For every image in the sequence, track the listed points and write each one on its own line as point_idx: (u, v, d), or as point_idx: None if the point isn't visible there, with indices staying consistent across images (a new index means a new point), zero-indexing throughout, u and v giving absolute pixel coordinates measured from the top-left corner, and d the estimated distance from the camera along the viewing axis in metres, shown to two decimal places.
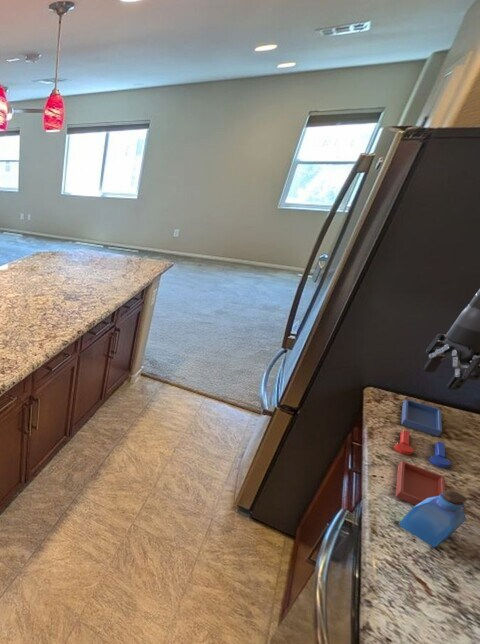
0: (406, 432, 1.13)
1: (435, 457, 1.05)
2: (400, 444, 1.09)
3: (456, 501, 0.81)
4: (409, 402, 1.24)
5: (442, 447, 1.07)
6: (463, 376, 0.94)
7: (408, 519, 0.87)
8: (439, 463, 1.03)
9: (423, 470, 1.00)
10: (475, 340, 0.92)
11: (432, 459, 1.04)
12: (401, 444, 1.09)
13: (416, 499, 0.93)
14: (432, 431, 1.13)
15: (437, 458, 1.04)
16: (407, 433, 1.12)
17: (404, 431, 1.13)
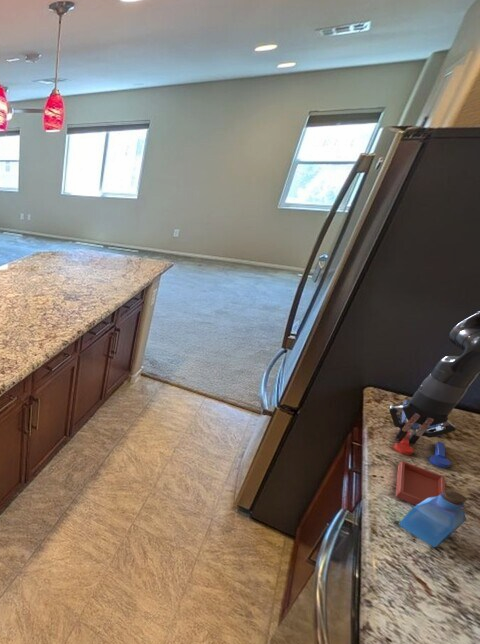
0: None
1: (435, 457, 1.05)
2: (400, 444, 1.09)
3: (456, 501, 0.81)
4: None
5: (442, 447, 1.07)
6: (428, 435, 1.06)
7: (408, 519, 0.87)
8: (439, 463, 1.03)
9: (423, 470, 1.00)
10: (452, 409, 1.01)
11: (432, 459, 1.04)
12: (401, 444, 1.09)
13: (416, 499, 0.93)
14: None
15: (437, 458, 1.04)
16: (407, 433, 1.12)
17: None
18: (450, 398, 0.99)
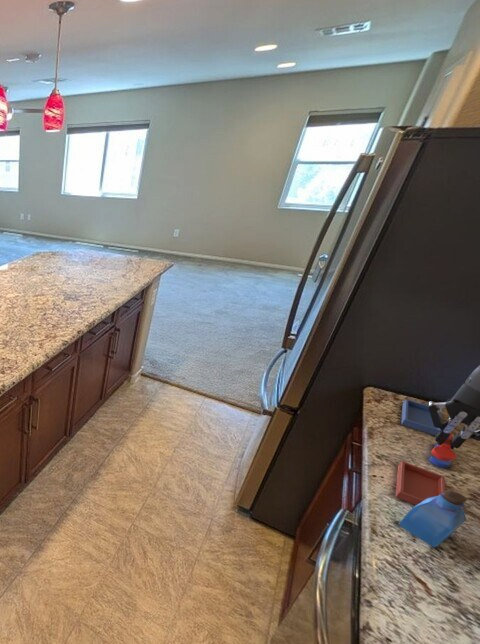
0: None
1: (435, 457, 1.05)
2: (439, 448, 0.92)
3: (456, 501, 0.81)
4: (409, 402, 1.24)
5: None
6: (477, 438, 0.88)
7: (408, 519, 0.87)
8: (439, 463, 1.03)
9: (423, 470, 1.00)
10: None
11: (432, 459, 1.04)
12: (440, 448, 0.92)
13: (416, 499, 0.93)
14: (432, 431, 1.13)
15: (437, 458, 1.04)
16: None
17: None
18: None
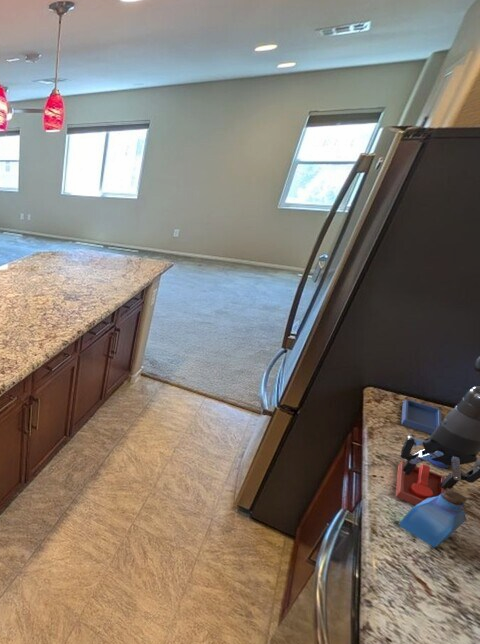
0: (426, 468, 0.99)
1: None
2: (417, 485, 0.96)
3: (456, 501, 0.81)
4: (409, 402, 1.24)
5: None
6: (469, 480, 0.90)
7: (408, 519, 0.87)
8: (439, 463, 1.03)
9: None
10: None
11: None
12: (418, 485, 0.96)
13: (416, 499, 0.93)
14: (432, 431, 1.13)
15: None
16: (427, 469, 0.98)
17: (423, 466, 0.99)
18: None
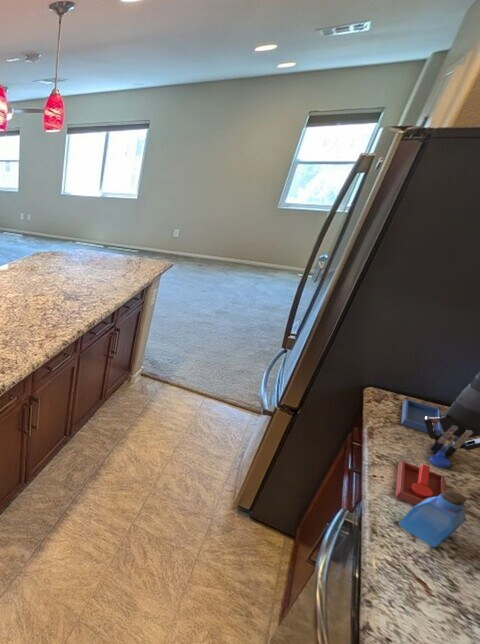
0: (426, 468, 0.99)
1: (435, 457, 1.05)
2: (417, 485, 0.96)
3: (456, 501, 0.81)
4: (409, 402, 1.24)
5: (442, 447, 1.07)
6: (466, 448, 1.02)
7: (408, 519, 0.87)
8: (439, 463, 1.03)
9: None
10: None
11: (432, 459, 1.04)
12: (418, 485, 0.96)
13: (416, 499, 0.93)
14: None
15: (437, 458, 1.04)
16: (427, 469, 0.98)
17: (423, 466, 0.99)
18: None
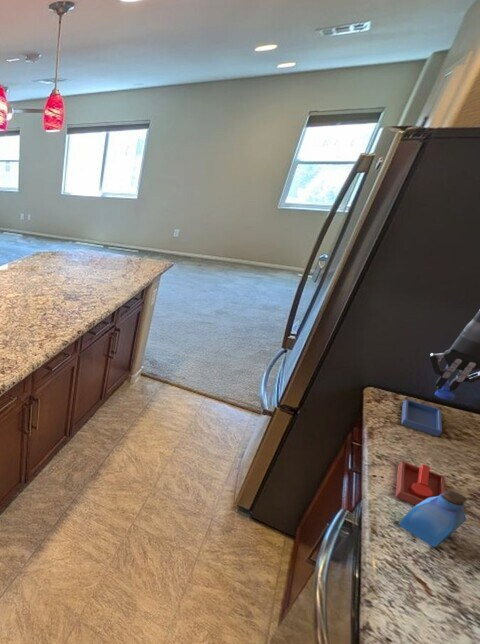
0: (426, 468, 0.99)
1: (440, 391, 1.11)
2: (417, 485, 0.96)
3: (456, 501, 0.81)
4: (409, 402, 1.24)
5: (446, 383, 1.13)
6: (470, 380, 1.08)
7: (408, 519, 0.87)
8: (444, 395, 1.09)
9: None
10: None
11: (437, 392, 1.11)
12: (418, 485, 0.96)
13: (416, 499, 0.93)
14: (432, 431, 1.13)
15: (442, 391, 1.10)
16: (427, 469, 0.98)
17: (423, 466, 0.99)
18: None
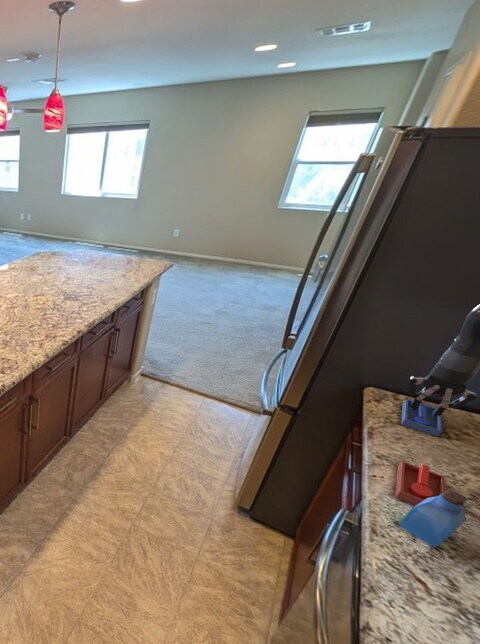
0: (426, 468, 0.99)
1: (417, 418, 1.18)
2: (417, 485, 0.96)
3: (456, 501, 0.81)
4: (409, 402, 1.24)
5: (423, 410, 1.20)
6: (454, 406, 1.13)
7: (408, 519, 0.87)
8: (420, 423, 1.16)
9: None
10: (470, 379, 1.09)
11: (414, 420, 1.17)
12: (418, 485, 0.96)
13: (416, 499, 0.93)
14: (432, 431, 1.13)
15: (419, 419, 1.17)
16: (427, 469, 0.98)
17: (423, 466, 0.99)
18: (469, 369, 1.07)
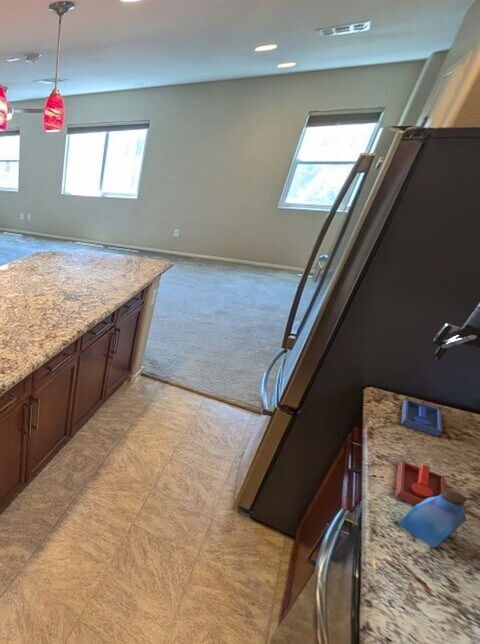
0: (426, 468, 0.99)
1: (417, 418, 1.18)
2: (417, 485, 0.96)
3: (456, 501, 0.81)
4: (409, 402, 1.24)
5: (423, 410, 1.20)
6: None
7: (408, 519, 0.87)
8: (420, 423, 1.16)
9: None
10: None
11: (414, 420, 1.17)
12: (418, 485, 0.96)
13: (416, 499, 0.93)
14: (432, 431, 1.13)
15: (419, 419, 1.17)
16: (427, 469, 0.98)
17: (423, 466, 0.99)
18: None
